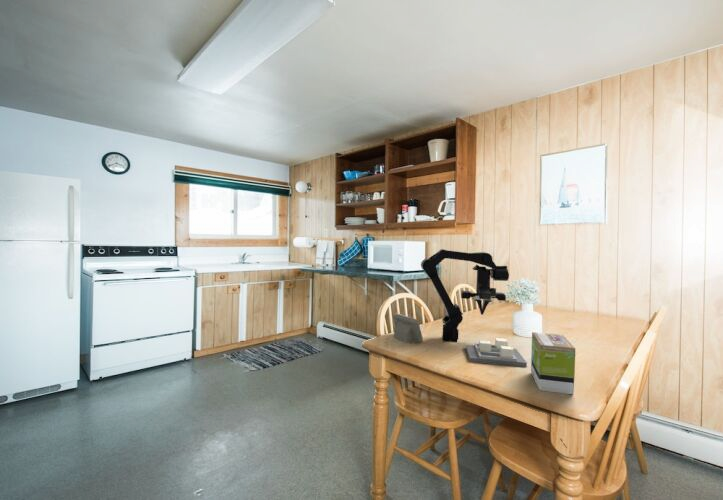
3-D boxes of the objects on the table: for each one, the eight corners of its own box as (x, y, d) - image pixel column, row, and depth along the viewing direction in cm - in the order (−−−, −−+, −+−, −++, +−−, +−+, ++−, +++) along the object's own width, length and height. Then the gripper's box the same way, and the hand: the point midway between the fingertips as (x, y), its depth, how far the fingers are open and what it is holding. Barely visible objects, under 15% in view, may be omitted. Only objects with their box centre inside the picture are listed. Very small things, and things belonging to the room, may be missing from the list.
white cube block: (480, 353, 137) (480, 343, 137) (478, 350, 140) (479, 340, 140) (490, 354, 136) (491, 343, 136) (489, 351, 139) (489, 341, 139)
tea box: (529, 372, 123) (531, 330, 122) (561, 376, 120) (563, 333, 119) (538, 390, 108) (540, 343, 108) (574, 395, 105) (577, 347, 105)
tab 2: (496, 350, 140) (497, 340, 140) (495, 347, 144) (495, 338, 144) (507, 351, 140) (507, 341, 139) (505, 348, 143) (505, 338, 143)
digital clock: (424, 343, 153) (425, 319, 153) (406, 345, 150) (407, 320, 149) (405, 333, 168) (406, 311, 168) (389, 334, 165) (389, 312, 164)
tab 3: (501, 359, 130) (502, 348, 130) (499, 355, 134) (500, 345, 134) (513, 360, 130) (513, 349, 130) (510, 356, 133) (511, 346, 133)
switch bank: (469, 361, 132) (470, 355, 131) (465, 348, 147) (465, 342, 147) (526, 366, 128) (526, 360, 128) (516, 352, 143) (516, 346, 143)
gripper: (463, 281, 151) (462, 317, 152) (509, 283, 147) (507, 320, 148) (461, 278, 162) (460, 311, 163) (503, 280, 158) (502, 314, 159)
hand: (481, 314), depth 158 cm, fingers closed
